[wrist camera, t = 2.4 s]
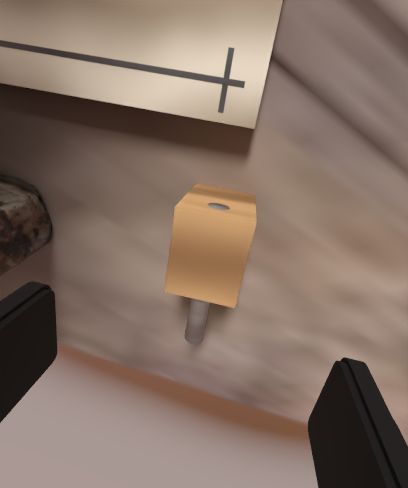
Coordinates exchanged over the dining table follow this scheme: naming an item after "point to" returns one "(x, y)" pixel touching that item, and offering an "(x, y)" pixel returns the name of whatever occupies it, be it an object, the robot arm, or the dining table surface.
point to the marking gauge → (209, 251)
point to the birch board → (144, 53)
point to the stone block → (20, 222)
